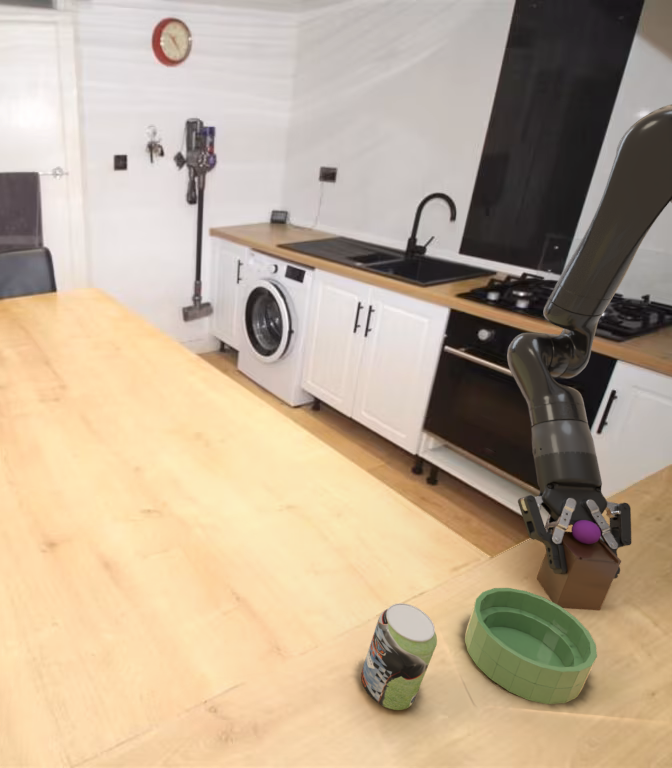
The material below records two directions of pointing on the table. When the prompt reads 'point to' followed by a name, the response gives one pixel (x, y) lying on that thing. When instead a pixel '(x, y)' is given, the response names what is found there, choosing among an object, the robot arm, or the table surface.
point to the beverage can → (398, 656)
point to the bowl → (530, 645)
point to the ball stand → (580, 575)
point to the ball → (586, 532)
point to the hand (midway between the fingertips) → (585, 575)
